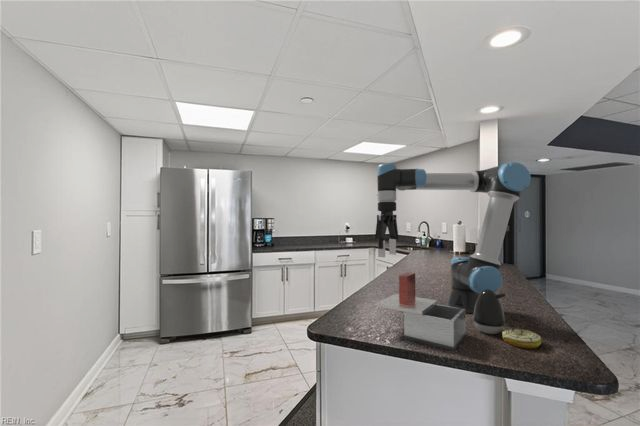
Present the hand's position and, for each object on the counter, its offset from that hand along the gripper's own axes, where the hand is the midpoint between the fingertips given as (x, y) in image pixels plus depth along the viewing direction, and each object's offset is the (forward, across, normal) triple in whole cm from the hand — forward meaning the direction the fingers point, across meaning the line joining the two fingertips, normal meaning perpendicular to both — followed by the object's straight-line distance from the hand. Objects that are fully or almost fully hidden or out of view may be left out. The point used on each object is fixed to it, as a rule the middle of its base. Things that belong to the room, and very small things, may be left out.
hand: (387, 255), depth 127 cm
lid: (+16, +8, +12) cm, 22 cm away
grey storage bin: (+26, +8, +22) cm, 35 cm away
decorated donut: (+26, -3, +46) cm, 53 cm away
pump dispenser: (+26, -8, +36) cm, 45 cm away
